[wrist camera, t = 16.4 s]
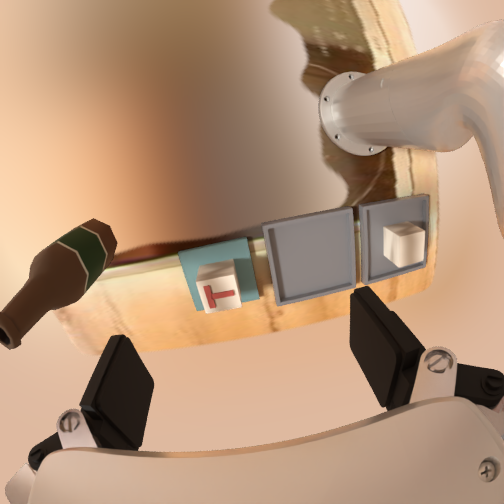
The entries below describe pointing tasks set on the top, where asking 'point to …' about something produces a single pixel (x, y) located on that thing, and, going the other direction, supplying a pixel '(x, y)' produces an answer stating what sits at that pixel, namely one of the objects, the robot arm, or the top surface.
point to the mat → (217, 253)
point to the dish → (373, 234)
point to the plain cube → (404, 243)
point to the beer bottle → (58, 278)
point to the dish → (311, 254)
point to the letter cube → (219, 286)
